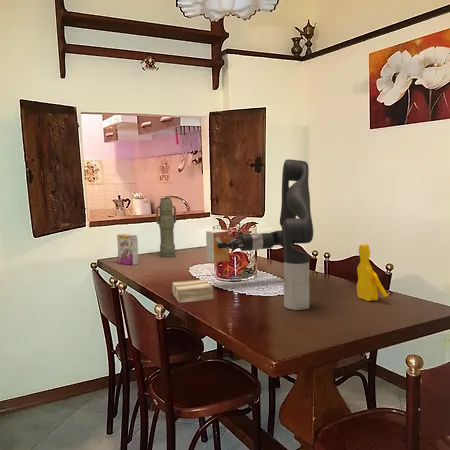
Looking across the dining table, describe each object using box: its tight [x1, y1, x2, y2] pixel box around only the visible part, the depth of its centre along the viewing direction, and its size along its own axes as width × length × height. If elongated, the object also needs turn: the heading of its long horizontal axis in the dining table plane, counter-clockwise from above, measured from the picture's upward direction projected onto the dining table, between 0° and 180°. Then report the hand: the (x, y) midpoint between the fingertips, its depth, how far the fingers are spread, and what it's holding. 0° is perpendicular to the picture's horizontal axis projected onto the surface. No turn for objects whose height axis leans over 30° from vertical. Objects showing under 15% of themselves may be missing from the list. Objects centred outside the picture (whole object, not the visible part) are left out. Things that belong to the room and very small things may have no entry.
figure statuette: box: [356, 243, 389, 302], centre depth 179 cm, size 18×8×22 cm, turn 23°
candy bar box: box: [116, 233, 139, 266], centre depth 256 cm, size 11×5×16 cm, turn 58°
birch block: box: [171, 278, 214, 304], centre depth 189 cm, size 14×14×5 cm
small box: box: [205, 229, 230, 263], centre depth 200 cm, size 8×6×13 cm
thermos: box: [155, 197, 177, 259], centre depth 275 cm, size 9×12×35 cm
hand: (215, 244), depth 200 cm, fingers closed on small box, 8 cm apart
